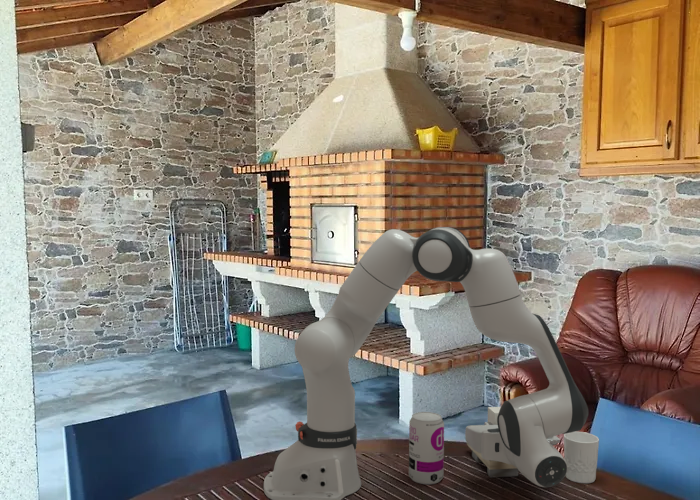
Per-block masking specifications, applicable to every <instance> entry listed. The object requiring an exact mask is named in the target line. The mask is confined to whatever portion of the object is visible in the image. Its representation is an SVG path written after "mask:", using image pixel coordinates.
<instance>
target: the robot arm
mask: <svg viewBox="0 0 700 500" xmlns="http://www.w3.org/2000/svg"><path fill="white" fill-rule="evenodd" d="M415 272H418V273H419V274H420V275H421V276H422V277H424V278H426V279H428V280H430V281H435V282H449V283H460V284H461V286H462V288H463V289H464V293H465V296H466V298H467V299H466V301H467V304H468V308H469V311H470V315H471V318H472V320H473V323H474V325H475V327H476V329H477V331H479V333H480V334H481V335H484V337H487V338H488V339H491V340H494V341H497V342H505V343H514V344H522V345H526V346H529V347H530V348H532V350H534V352H535V353H536V356H537V358H538V360H539V362H540V365H541V366H542V369H543V371H544V373H545V375H546V377H547V380H548V382H549V385H548V386H547V388H544V389H541V390H537V391H535V392H534V391H533V392H531V393H528V394H523V395H519V396H517V397H513V398H510V399H507V400H505V401H503V402H502V404H501V406H500V407H501V408H500V411H499V414H498V417H497V423H498V425H493V424H492V423H491V422H488V421H485V422H484V423H483V424H476V425H471V424H470V425H467V426H466V427H465V433H464V434H465V435H464V436H465V441H466V444H467V443H468V444H469V445H470V446H471V447H472V448H473V449H474V450H475V451H477V452H479V453H481V455H482V458H483V459H485V460H490V461H498V462H504V463H507V464H510V465H514V466H515V467H517V469H518V472H520V474H521V475H523V476H524V477H525V478H526V479H527V480H528V481H530V482H531V483H532V484H534V485H536V486H538V487H542V488H552V487H554V486H557V485H558V484H560V483H561V482H562V481H563V480H564V479H565V477H566V473H567V463H566V461H565V458H564V456H563V455H562V453H560V452H559V450H558V449H557V448H556V447H555V446H556V445H557V444H559V443H561V439H560V438H559V437H558V436H559V435H564V434H566V433H571V432H581V430H582V429H583V427H585V424H586V422H587V420H588V417H589V407H588V404H587V402H586V400H585V397H584V396H583V394H582V392H581V391H580V389H579V388H578V386H577V384H576V382H575V380H574V378H573V376H572V375H571V372H570V370H569V368H568V366H567V363H566V361H565V359H564V357H563V355H562V352H561V350H560V348H559V346H558V344H557V341H556V340H555V338H554V336H553V334H552V332H551V330H550V328H549V325H548V324H547V323H546V321H545V320H544V319H543V317H542V316H540V315H539V314H537V313H533V312H532V311H531V310H530V309H529V308H528V307H527V305H526V303H525V302H524V299H523V297H522V294H521V291H520V287H519V284H518V281H517V278H516V276H515V273H514V271H513V268H512V265H511V264H510V262H509V260H508V258H507V256H506V254H504V253H503V252H502V251H501V250H499V249H496V248H487V247H486V248H481V249H474V248H473V249H472V248H471V245H470V241H469V240H468V238H467V237H466V235H465V234H464V233H463V232H462V231H460V230H459V229H456V228H454V227H451V226H450V227H449V226H439V227H438V226H437V227H434V228H432V229H430V230H428V231H426V232H424V233H422V234H421V235H420V236H418V237H415V236H412V235H411V234H409V233H408V232H406V231H403V230H401V229H395V228H392V229H388V230H386V231H385V232H383V233H382V234H381V235H380V236H379V237H378V238H377V239H376V240H375V241H374V242H373V243H371V245H370V247H369V248H368V249H367V250H366V251H365V252H364V254H363V255H362V256H361V257H360V259H359V260H358V262H357V263H356V265H355V266H354V267H353V269H352V270H351V272H349V273H350V274H348V276H347V277H346V279H345V281H344V282H343V283H342V285H341V286H340V287H339V290H338V294H337V296H336V298H335V300H334V302H333V304H332V306H331V308H330V309H329V311H328V312H327V313H326V315H325V316H324V317H322V318H321V319H319V320H318V321H315V322H313V323H310V324H309V325H306V327H305V328H304V329H303V330H302V331H301V333H300V334H299V335H298V337H297V338H296V340H295V343H294V355H295V358H296V361H297V362H298V364H299V365H300V366H301V369H302V374H303V377H304V378H303V379H304V384H305V389H306V390H305V391H306V423H303V421H297V422H296V423H295V431H296V432H297V439H298V440H296V441H294V442H293V443H292V444H291V445H290V446H288V447H287V448H285V449H283V451H282V452H280V453H279V454H278V456H277V458H276V460H275V463H274V466H273V471H270V472H269V473H268V474H267V475H266V476H265V477H264V481H263V492H264V494H265V495H266V497H267V498H268V499H270V500H343V499H344V498H345V497H347V496H349V495H352V494H354V493H356V492H357V491H358V490H360V488H361V487H362V482H361V477H360V473H359V470H358V469H359V468H358V462H357V461H358V460H357V452H356V449H357V444H358V428H357V425H356V419H355V418H356V416H355V415H356V391H355V388H354V387H353V385H352V380H351V377H350V376H351V374H350V370H349V363H350V362H349V360H350V358H352V357H354V356H355V355H356V354H357V353H358V351H359V350H361V347H362V346H363V344H364V343H365V341H366V340H367V338H368V336H369V335H370V333H371V332H372V330H373V328H375V325H376V324H377V322H378V320H379V319H380V317H381V315H382V314H383V313H384V312H385V310H386V309H387V307H388V306H389V304H390V303H391V302H392V301H393V299H394V298H395V296H396V295H397V294H398V293H399V291H400V290H401V288H402V287H403V285H404V284H405V282H406V281H407V280H408V279H409V278H410V276H411V275H413V274H414V273H415Z"/></svg>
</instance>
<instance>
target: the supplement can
mask: <svg viewBox="0 0 700 500" xmlns="http://www.w3.org/2000/svg"><path fill="white" fill-rule="evenodd" d="M408 430H409V433H408V435H409V436H408V437H409V438H408V446H409V447H408V450H409V451H408V477H409V478H410V479H411V480H412V481H413V482H415V483H417V484H421V485H435V484H437V483H439V482H441V480H442V479H443V478H444V471H445V470H444V469H445V468H444V465H445V463H444V460H445V459H444V457H445V456H444V455H445V447H444V446H445V422H444V421H443V417H442V415H441V414H439V413H436V412H431V411H418V412H414V413H413V414H412V415H411V418H410V419H409V426H408Z"/></svg>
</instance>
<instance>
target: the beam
mask: <svg viewBox="0 0 700 500" xmlns="http://www.w3.org/2000/svg"><path fill="white" fill-rule="evenodd" d="M466 445H467V446H468V448H469V449H470V450H471V457H472V458H473V459H474V460H475V462H476V463H483V464H484V465H485V466H486V467H487V470H486V471H487V473H486V475H487V476H488V477H489V478H506V477H507V478H508V477H518V476H519V470H518V469H517V467H515V466H514V465H510V464H507V463H504V462H498V461H490V460H485V459H483V458H482V455H481V453H479V452H477V451H475V450H474V449H473V448H472V447H471V446H470V445H469V444H468V443H467V442H466Z"/></svg>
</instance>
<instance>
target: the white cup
mask: <svg viewBox="0 0 700 500" xmlns="http://www.w3.org/2000/svg"><path fill="white" fill-rule="evenodd" d="M599 443H600V439H599V437H598V436H597V435H594V434H592V433H589V432H584V431H576V432H571V433H566V434H563V445H564V446H563V452H564V456H563V458H564V459H565V461H566V463H567V473H566V475H565V477H566V479H567V480H570V481H571V482H574V483H579V484H591V483H594V482H595V480H596V478H597V467H598V457H599Z"/></svg>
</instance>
